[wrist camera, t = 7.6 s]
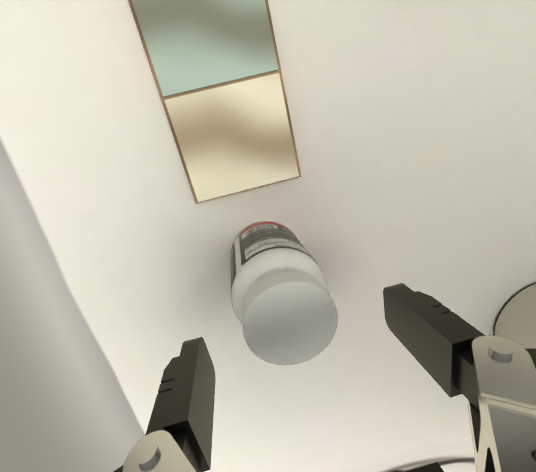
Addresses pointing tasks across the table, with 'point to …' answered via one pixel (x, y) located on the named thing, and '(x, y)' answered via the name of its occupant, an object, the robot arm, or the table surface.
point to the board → (220, 91)
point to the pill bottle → (280, 295)
